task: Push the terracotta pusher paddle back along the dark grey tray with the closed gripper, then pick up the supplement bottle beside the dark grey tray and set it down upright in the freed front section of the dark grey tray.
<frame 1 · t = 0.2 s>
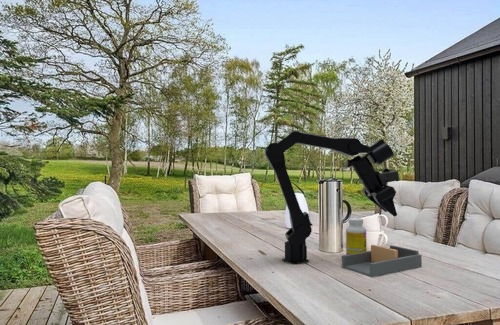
hand: (391, 213, 127), 15 cm above the table, tool tilted 30°, fingers open, 9 cm apart
supplement bottle: (356, 258, 131), on the table
pusher: (383, 255, 119), point 3 cm above the table, slide at 0.0 cm
dark grey tray: (381, 267, 118), on the table
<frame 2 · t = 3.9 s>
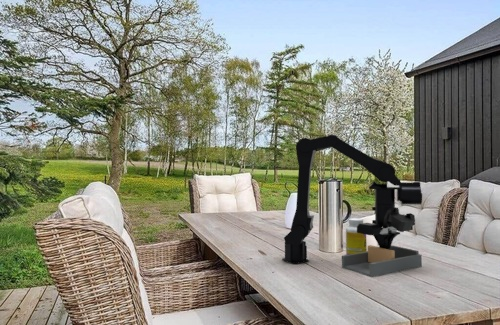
hand: (385, 255, 120), 3 cm above the table, tool pointing down, fingers closed
pusher: (380, 256, 118), point 3 cm above the table, slide at 1.3 cm, touching gripper
everything else where it was.
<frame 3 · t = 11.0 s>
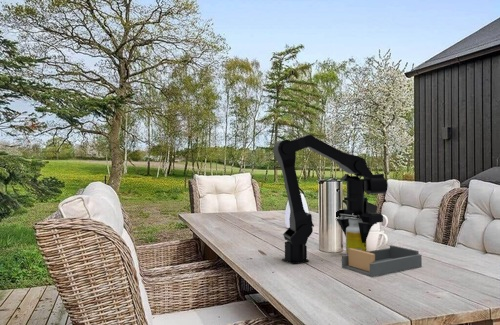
hand: (356, 241, 131), 6 cm above the table, tool pointing down, fingers closed on supplement bottle, 7 cm apart
supplement bottle: (356, 258, 131), on the table, touching gripper
pusher: (361, 259, 114), point 3 cm above the table, slide at 9.5 cm
when the fingers open (7 cm above the table, at t = 15.2 s): supplement bottle drops 1 cm, resting on dark grey tray.
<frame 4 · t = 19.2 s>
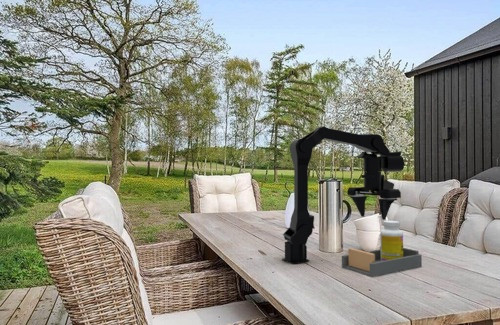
hand: (373, 218, 132), 13 cm above the table, tool pointing down, fingers open, 9 cm apart
supplement bottle: (391, 263, 121), resting on dark grey tray
everything else where it was.
at the end: supplement bottle inside the target area on the dark grey tray (0.0 cm from its centre), point 0.4 cm above the dark grey tray's base; supplement bottle tilted 0°; pusher slide at 9.5 cm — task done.
